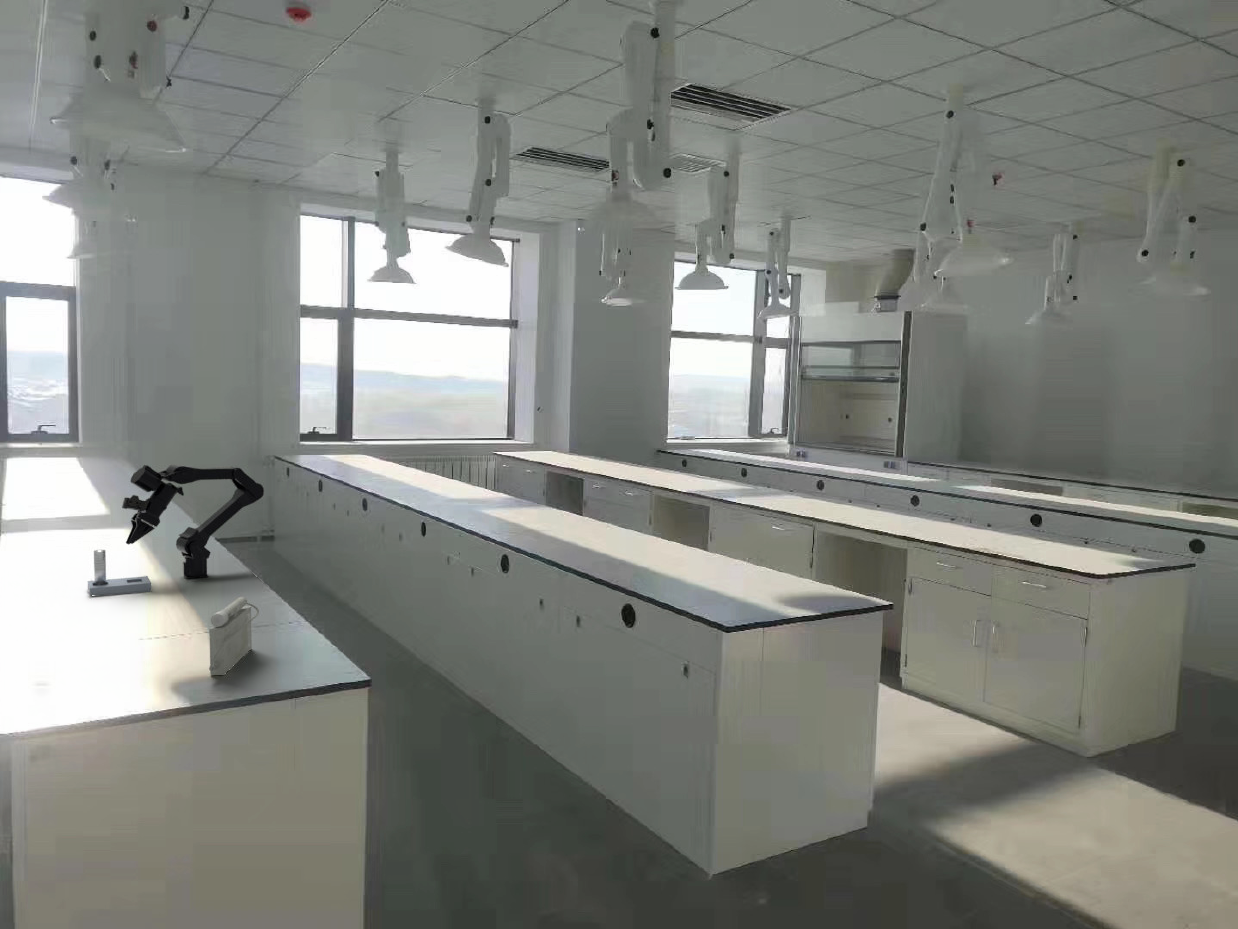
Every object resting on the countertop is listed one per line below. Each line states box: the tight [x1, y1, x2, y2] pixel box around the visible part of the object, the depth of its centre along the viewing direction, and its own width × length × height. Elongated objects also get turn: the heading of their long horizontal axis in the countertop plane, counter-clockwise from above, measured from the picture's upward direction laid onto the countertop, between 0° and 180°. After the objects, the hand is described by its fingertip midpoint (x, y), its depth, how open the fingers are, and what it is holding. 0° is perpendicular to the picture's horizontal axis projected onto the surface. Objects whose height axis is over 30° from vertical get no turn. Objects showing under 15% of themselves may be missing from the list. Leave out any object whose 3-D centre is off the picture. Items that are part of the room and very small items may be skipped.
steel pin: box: [93, 549, 107, 586], centre depth 270 cm, size 3×3×12 cm
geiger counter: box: [208, 596, 260, 675], centre depth 209 cm, size 14×6×25 cm
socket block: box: [87, 575, 152, 597], centre depth 273 cm, size 16×10×2 cm, turn 123°
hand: (128, 543), depth 277 cm, fingers open, 9 cm apart
